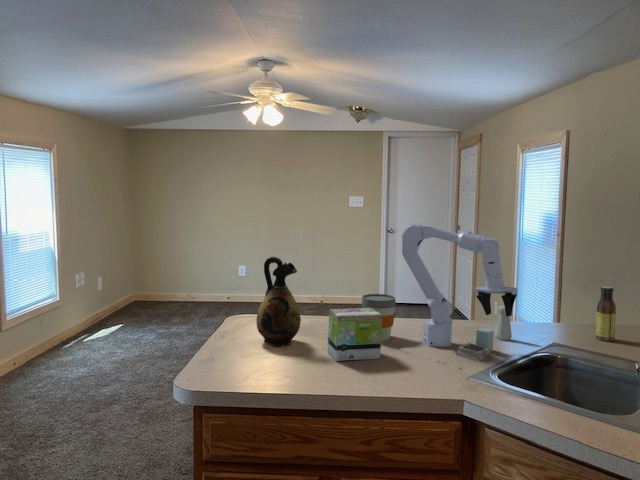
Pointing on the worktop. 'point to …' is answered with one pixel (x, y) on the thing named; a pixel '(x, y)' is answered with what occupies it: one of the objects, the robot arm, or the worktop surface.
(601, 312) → the sauce bottle
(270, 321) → the ceramic jug
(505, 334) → the salt shaker
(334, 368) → the worktop surface
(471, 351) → the board
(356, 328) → the tea box
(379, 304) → the reusable coffee cup
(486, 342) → the peg
